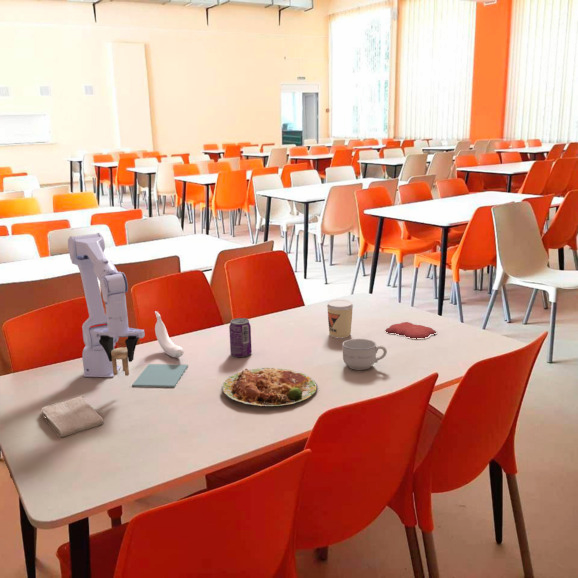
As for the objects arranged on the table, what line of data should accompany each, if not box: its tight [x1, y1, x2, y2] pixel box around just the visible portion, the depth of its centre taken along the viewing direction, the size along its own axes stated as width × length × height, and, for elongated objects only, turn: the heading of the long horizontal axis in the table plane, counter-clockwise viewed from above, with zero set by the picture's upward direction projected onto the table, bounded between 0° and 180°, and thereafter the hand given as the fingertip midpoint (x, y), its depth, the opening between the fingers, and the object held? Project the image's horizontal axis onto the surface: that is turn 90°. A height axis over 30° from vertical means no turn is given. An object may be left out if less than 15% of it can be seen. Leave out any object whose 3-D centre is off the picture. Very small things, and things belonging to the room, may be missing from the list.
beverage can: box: [228, 317, 252, 358], centre depth 207 cm, size 7×7×12 cm
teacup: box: [341, 338, 388, 371], centre depth 195 cm, size 14×11×8 cm
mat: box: [132, 363, 189, 388], centre depth 193 cm, size 13×16×1 cm
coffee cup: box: [326, 299, 354, 339], centre depth 224 cm, size 9×9×12 cm
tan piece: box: [111, 347, 130, 377], centre depth 178 cm, size 5×5×7 cm
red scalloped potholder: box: [384, 321, 437, 339], centre depth 227 cm, size 18×14×2 cm
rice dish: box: [221, 367, 318, 407], centre depth 181 cm, size 28×28×5 cm
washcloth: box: [41, 396, 105, 438], centre depth 166 cm, size 12×18×3 cm, turn 39°
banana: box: [154, 310, 185, 358], centre depth 207 cm, size 5×19×15 cm, turn 38°
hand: (121, 360), depth 178 cm, fingers closed on tan piece, 5 cm apart
